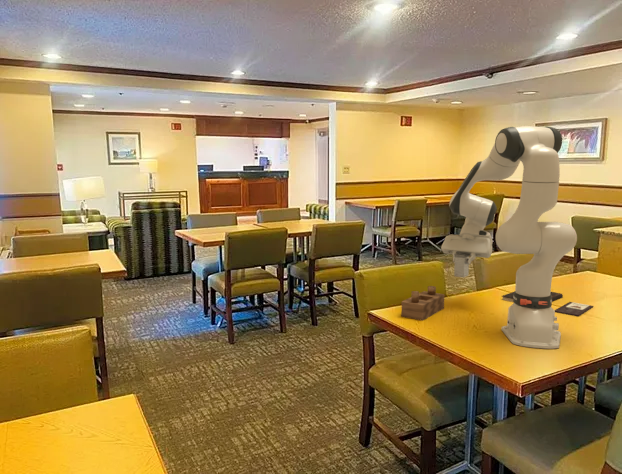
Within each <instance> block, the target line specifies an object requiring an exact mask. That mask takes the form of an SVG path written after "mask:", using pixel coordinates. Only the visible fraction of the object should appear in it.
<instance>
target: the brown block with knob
mask: <svg viewBox="0 0 622 474" xmlns="http://www.w3.org/2000/svg"><path fill="white" fill-rule="evenodd" d="M436 287H437V286H434V285H429V286H427V291H425V290H423V291H422V292H419V291H417V290H415V291H411V297H408V298H406V299H404V300H402V301H401V317H402V318H408V319H413V320H417V321H425V320H427V319H428V318H430V317H431V316H433V315H436V314H438V312H441V311H443V310H444V309H445V294H444V293H438V292H437V288H436Z"/></svg>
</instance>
